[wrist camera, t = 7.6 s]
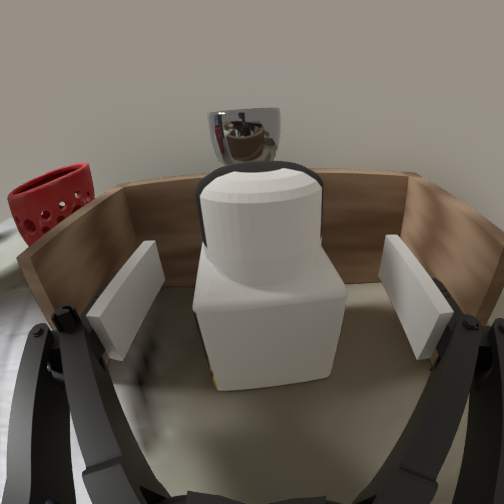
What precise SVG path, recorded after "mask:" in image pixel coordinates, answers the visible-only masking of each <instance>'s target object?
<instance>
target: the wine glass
mask: <svg viewBox="0 0 504 504" xmlns="http://www.w3.org/2000/svg"><path fill="white" fill-rule="evenodd" d="M207 114H208V115H207V116H208V126H209V132H210V138H211V142H212V146H213V149H214V152H215V155H216V157H217V159H218V161H219V162H220V163H221V165H222V166H223V167H224V166H228V165H232V164H237V163H243V162H252V161H274V160H275V158H276V157H277V153H278V149H279V145H280V139H281V109H280V108H254V109H239V110H228V111H219V112H211V113H207Z"/></svg>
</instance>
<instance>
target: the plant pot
mask: <svg viewBox="0 0 504 504" xmlns="http://www.w3.org/2000/svg"><path fill="white" fill-rule="evenodd" d="M75 193H77V195H78V197H77V198H76V197H75ZM94 199H95V195H94V187H93V182H92V176H91V172H90V168H89V164H87V163H78V164H74V165H70V166H66V167H62V168H59V169H56V170H53V171H51V172H48V173H46V174H44V175H41V176H39V177H36V178H34V179H32V180H30V181H28V182H27V183H25V184H23V185H21V186H19V187H18V188H16V189H14V190H13V191H12V192H11V193H10V194H9V195H8V203H9V206H10V210H11V213H12V216H13V219H14V221H15V223H16V225H17V228H18V230H19V232H20V234H21V236H22V238H23V239H24V241H25V242H26V243H27V245H28V246H31V245H32V244H33V243H34V242H36V241H37V240H38V239H39V238H41V237H42V236H43V235H44V234H46V233H47V232H48V231H50V230H51V229H52V228H54V227H55V226H56V225H58V224H59V223H60V222H62V221H63V220H64V219H66V218H67V217H69V216H70V215H71V214H73V213H74V212H76V211H77V210H79V209H80V208H82V207H83V206H84V205H86V204H87V203H89V202H91V201H92V200H94ZM60 202H64V203H65V206H61V205H60V204H59V203H60ZM42 212H43V214H42V215H41V213H42Z"/></svg>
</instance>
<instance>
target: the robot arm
mask: <svg viewBox="0 0 504 504" xmlns="http://www.w3.org/2000/svg"><path fill="white" fill-rule="evenodd" d="M378 277H379V278H380V280H381V282H382V284H383V286H384V288H385V290H386V292H387V294H388V296H389V298H390V300H391V303H392V305H393V307H394V309H395V311H396V313H397V315H398V317H399V320H400V322H401V324H402V326H403V328H404V331H405V333H406V335H407V338H408V340H409V342H410V345H411V347H412V349H413V352H414V354H415V357H416V359H417V360H422V359H427V358H431V356H432V354H433V352H434V351H435V349H436V350H437V353H438V357H437V358H436V360H435V362H434V364H433V365H432V367H431V368H430V371H431V373H430V376H429V378H428V381H427V383H426V386H425V388H424V390H423V392H422V395H421V397H420V399H419V401H418V403H417V405H416V407H415V410H414V412H413V414H412V416H411V418H410V419H409V421H408V423H407V425H406V427H405V429H404V431H403V433H402V434H401V436H400V438H399V440H398V441H397V443H396V445H395V446H394V448H393V450H392V451H391V453H390V455H389V456H388V458H387V459H386V461H385V462H384V464H383V465H382V467H381V468H380V470H379V471H378V473H377V474H376V476H375V477H374V478H373V480H372V481H371V482H370V484H369V485H368V486H367V487H366V488H365V489H364V490H363V491H362V492H361V493H360V494H359V495H358V497H357V498H356V499H355V500H354V501H353V502H352V504H430V502H431V501H432V499H433V497H434V495H435V493H436V491H437V488H438V483H437V482H436V478H437V476H438V473H439V471H440V469H441V467H442V465H443V463H444V461H445V459H446V456H447V454H448V452H449V450H450V447H451V445H452V442H453V440H454V437H455V435H456V432H457V429H458V426H459V424H460V421H461V418H462V415H463V412H464V408H465V405H466V402H467V398H468V395H469V412H468V424H467V433H466V441H465V447H464V454H463V459H462V464H461V469H460V474H459V478H458V482H457V486H456V490H455V494H454V497H453V501H452V504H504V319H502V318H498V319H496V320H495V321H494V323H493V325H492V326H491V327H490V326H482V325H481V324H480V322H479V321H478V320H477V319H476V318H475V317H473V316H472V315H468V314H464V313H463V312H462V310H461V309H460V307H459V306H458V304H457V303H456V301H455V300H454V298H453V297H451V294H450V293H449V291H448V290H447V289H446V287H445V286H444V284H443V283H442V282H440V281H439V280H438V279H436V278H431V277H430V276H429V275H428V273H427V272H426V271H425V269H424V268H423V267H422V265H421V264H420V263H419V261H418V260H417V259H416V257H415V256H414V255H413V254H412V252H411V251H410V250H409V248H408V247H407V246H406V245H405V243H404V242H403V241H402V240H401V239H400V237H399V236H398V235H386V236H385V242H384V248H383V254H382V259H381V264H380V269H379V274H378ZM164 281H165V276H164V273H163V269H162V265H161V262H160V258H159V254H158V250H157V246H156V242H155V240H153V241H143V243H142V244H141V245H140V246H139V247H138V249H137V250H136V251H135V252H134V253H133V255H132V256H131V257H130V258H129V259H128V261H127V262H126V263H125V264H124V266H123V267H122V268H121V269H120V271H119V272H118V273H117V274H116V276H115V277H114V278H113V280H112V281H111V282H110V283H109V284H106V285H105V286H103V287H102V288H101V289H100V290H99V291H98V292H97V293H96V295H95V297H93V299H92V300H91V302H90V303H89V304H88V305H87V307H86V308H85V309H84V311H83V312H82V313H81V315H80V316H79V315H78V313H77V311H76V309H75V307H74V306H73V305H71V304H66V305H62V306H61V307H59V308H57V309H56V310H55V311H54V312H53V314H52V316H51V320H52V321H53V323H54V325H55V326H56V328H57V330H54V331H50V329H49V327H48V326H47V324H45V323H40V324H37V325H35V326H34V327H33V328H32V329H31V330H30V332H29V334H28V337H27V341H26V344H25V347H24V351H23V355H22V358H21V362H20V366H19V370H18V375H17V379H16V384H15V389H14V394H13V400H12V406H11V413H10V421H9V430H8V442H7V479H6V484H5V488H4V493H3V498H2V503H1V504H76V496H75V488H74V481H73V472H72V461H71V446H70V412H71V416H72V420H73V424H74V428H75V432H76V435H77V439H78V442H79V446H80V449H81V452H82V455H83V458H84V461H85V464H86V470H84V471H83V472H82V478H83V482H84V484H85V487H86V489H87V492H88V494H89V497H90V499H91V501H92V504H245V503H242V502H238V501H235V500H232V499H229V498H226V497H223V496H219V495H211V494H204V493H198V492H192V491H188V492H187V495H181V496H175V497H171V496H170V495H169V493H168V492H167V490H166V489H165V488H164V487H163V485H162V484H161V483H160V482H159V481H158V480H157V479H156V477H155V476H154V474H153V472H152V470H151V469H150V467H149V465H148V463H147V461H146V459H145V457H144V455H143V454H142V452H141V450H140V448H139V446H138V443H137V441H136V439H135V437H134V435H133V433H132V431H131V428H130V426H129V424H128V422H127V419H126V417H125V415H124V412H123V410H122V407H121V405H120V402H119V400H118V397H117V394H116V392H115V389H114V386H113V383H112V380H111V378H110V375H109V372H108V369H107V365H106V362H105V360H104V358H103V357H102V356H103V354H104V352H105V351H106V352H107V354H108V356H109V357H110V359H115V360H120V361H124V358H125V356H126V354H127V352H128V350H129V348H130V346H131V344H132V342H133V340H134V338H135V336H136V334H137V332H138V330H139V328H140V326H141V324H142V322H143V320H144V318H145V317H146V315H147V313H148V311H149V309H150V307H151V305H152V303H153V301H154V300H155V298H156V296H157V294H158V292H159V290H160V288H161V287H162V285H163V283H164ZM47 366H48V368H47ZM270 504H341V503H338V502H334V501H329V500H326V496H323V497H312V498H296V499H288V500H284V501H279V502H275V503H270Z"/></svg>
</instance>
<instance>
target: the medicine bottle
mask: <svg viewBox="0 0 504 504" xmlns="http://www.w3.org/2000/svg"><path fill="white" fill-rule="evenodd" d="M323 189H324V183H323V181H322V179H321V178H320V177H319V176H318V174H317V173H316V172H314V171H312V170H310V169H308V168H306V167H304V166H302V165H299V164H296V163H291V162H284V161H252V162H243V163H237V164H232V165H228V166H224V167H221V168H218V169H216V170H215V171H213V172H211V173H210V174H208V175H207V176H205V177H204V178H202V179H201V180H200V182H199V183H198V185H197V187H196V189H195V194H196V201H197V208H198V215H199V221H200V227H201V234H202V240H203V243H202V248H201V254H200V260H199V267H198V273H197V279H196V286H195V293H194V300H193V308H192V309H193V312H194V316H195V320H196V324H197V327H198V331H199V334H200V338H201V341H202V345H203V348H204V352H205V355H206V358H207V362H208V365H209V368H210V371H211V375H212V378H213V381H214V384H215V387H216V389H217V390H219V391H231V390H244V389H254V388H264V387H272V386H280V385H287V384H294V383H300V382H306V381H312V380H317V379H322V378H327V377H328V376H329V375H330V374H331V370H332V366H333V362H334V358H335V354H336V349H337V345H338V341H339V336H340V331H341V327H342V322H343V317H344V311H345V306H346V301H347V295H348V292H347V287H346V286H345V284H344V282H343V281H342V279H341V277H340V276H339V274H338V272H337V271H336V269H335V267H334V266H333V264H332V262H331V261H330V259H329V258H328V256H327V254H326V253H325V251H324V250H323V248H322V246H321V240H322V220H323Z"/></svg>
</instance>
